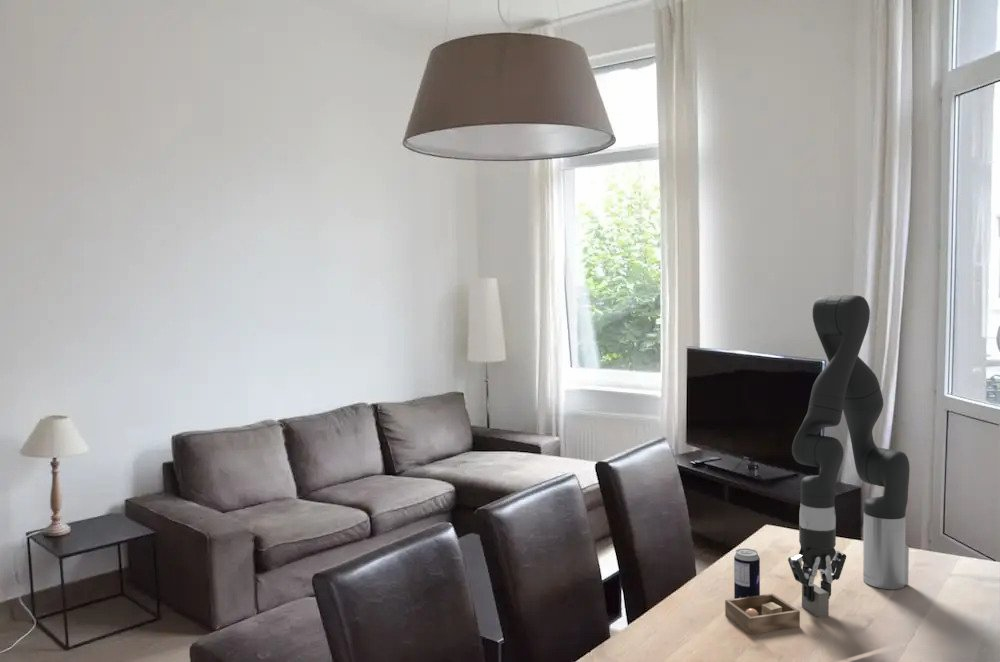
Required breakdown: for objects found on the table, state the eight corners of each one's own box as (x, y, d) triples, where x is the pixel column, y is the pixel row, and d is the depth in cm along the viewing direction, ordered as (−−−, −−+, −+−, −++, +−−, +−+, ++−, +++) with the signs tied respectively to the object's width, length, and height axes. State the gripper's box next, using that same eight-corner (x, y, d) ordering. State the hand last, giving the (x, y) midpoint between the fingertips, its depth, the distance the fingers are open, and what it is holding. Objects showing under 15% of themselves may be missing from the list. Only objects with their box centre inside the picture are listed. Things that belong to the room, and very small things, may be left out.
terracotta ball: (753, 618, 173) (753, 605, 173) (761, 624, 170) (761, 610, 170) (741, 620, 173) (741, 607, 172) (749, 625, 170) (749, 612, 170)
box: (772, 610, 179) (772, 593, 178) (799, 629, 169) (799, 611, 169) (725, 617, 176) (725, 600, 175) (750, 636, 166) (750, 618, 166)
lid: (823, 605, 183) (824, 576, 183) (854, 623, 173) (854, 593, 173) (777, 611, 180) (777, 582, 180) (805, 630, 170) (805, 600, 169)
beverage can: (761, 607, 180) (761, 556, 179) (735, 606, 181) (735, 555, 180) (758, 598, 186) (758, 548, 185) (733, 596, 187) (733, 547, 186)
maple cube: (772, 615, 175) (772, 602, 175) (782, 620, 172) (782, 607, 172) (761, 617, 174) (761, 604, 173) (771, 623, 171) (771, 609, 171)
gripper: (833, 516, 180) (833, 589, 181) (779, 522, 176) (779, 597, 177) (856, 525, 172) (855, 602, 174) (800, 532, 169) (800, 610, 170)
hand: (817, 599), depth 175 cm, fingers open, 3 cm apart
